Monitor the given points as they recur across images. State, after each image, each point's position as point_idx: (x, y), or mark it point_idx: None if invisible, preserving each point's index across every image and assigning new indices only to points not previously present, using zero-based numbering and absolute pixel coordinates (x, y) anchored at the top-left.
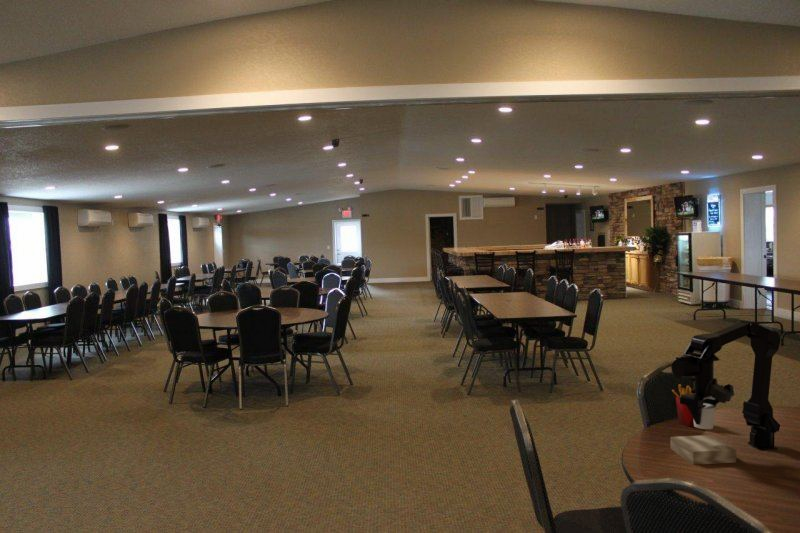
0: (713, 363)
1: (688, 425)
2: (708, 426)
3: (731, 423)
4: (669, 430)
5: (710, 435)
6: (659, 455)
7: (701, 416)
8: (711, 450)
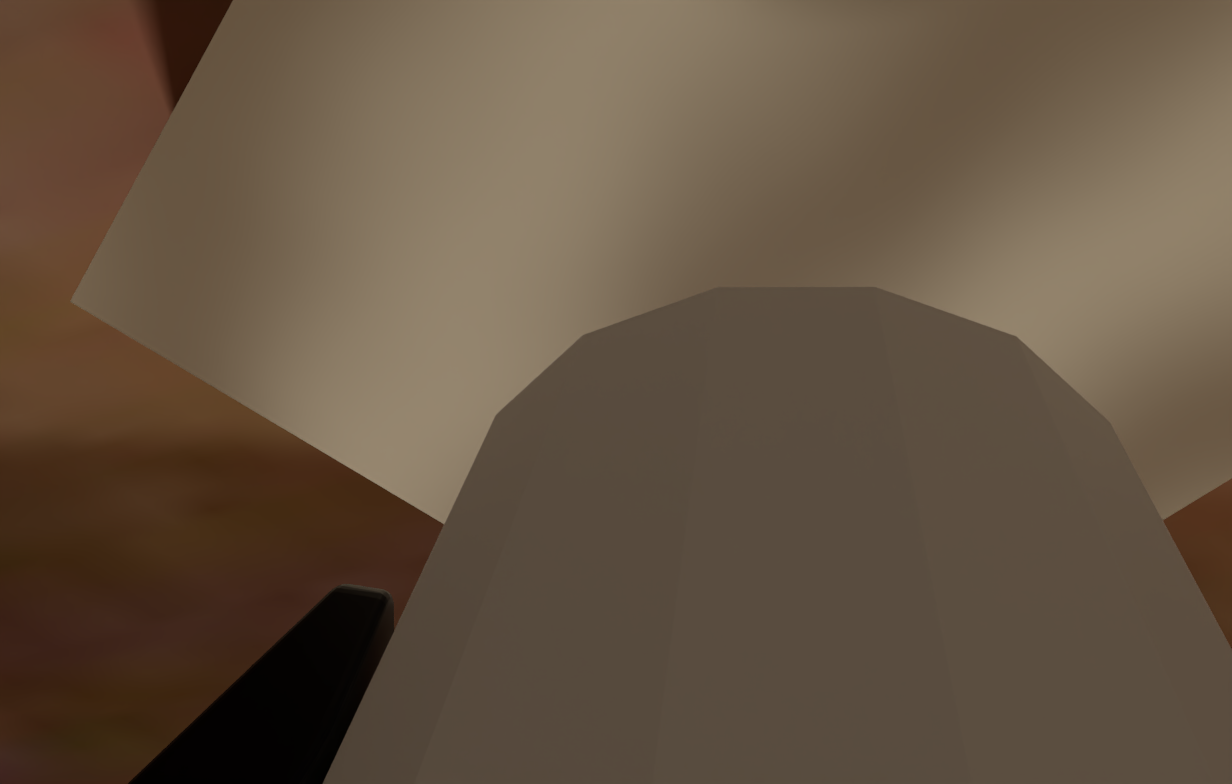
0: None
1: None
2: (1097, 444)
3: None
4: (86, 741)
5: (97, 294)
6: (1229, 595)
7: None
8: None
